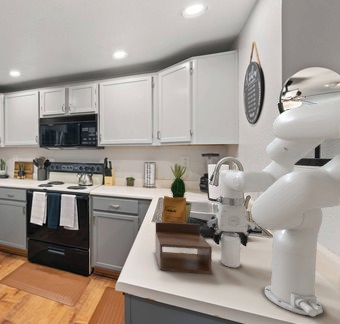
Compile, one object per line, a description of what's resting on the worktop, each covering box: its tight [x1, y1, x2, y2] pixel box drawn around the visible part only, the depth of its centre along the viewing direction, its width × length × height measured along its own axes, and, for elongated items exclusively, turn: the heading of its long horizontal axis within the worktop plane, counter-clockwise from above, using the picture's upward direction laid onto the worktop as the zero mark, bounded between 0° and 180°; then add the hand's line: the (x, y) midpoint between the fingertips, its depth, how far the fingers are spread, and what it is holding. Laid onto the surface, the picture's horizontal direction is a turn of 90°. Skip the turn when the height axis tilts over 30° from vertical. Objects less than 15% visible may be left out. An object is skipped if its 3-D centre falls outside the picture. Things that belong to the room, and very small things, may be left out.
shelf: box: [154, 221, 213, 275], centre depth 89 cm, size 14×18×14 cm
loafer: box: [187, 215, 242, 239], centre depth 117 cm, size 10×29×10 cm, turn 81°
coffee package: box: [161, 195, 187, 223], centre depth 113 cm, size 10×12×22 cm
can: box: [220, 232, 241, 269], centre depth 88 cm, size 6×6×12 cm
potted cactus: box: [170, 177, 193, 223], centre depth 131 cm, size 15×15×30 cm
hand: (230, 244), depth 88 cm, fingers open, 9 cm apart
